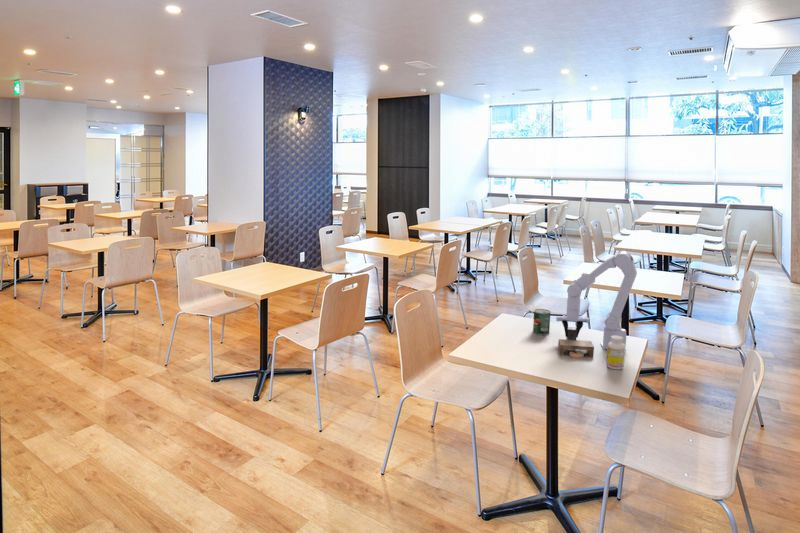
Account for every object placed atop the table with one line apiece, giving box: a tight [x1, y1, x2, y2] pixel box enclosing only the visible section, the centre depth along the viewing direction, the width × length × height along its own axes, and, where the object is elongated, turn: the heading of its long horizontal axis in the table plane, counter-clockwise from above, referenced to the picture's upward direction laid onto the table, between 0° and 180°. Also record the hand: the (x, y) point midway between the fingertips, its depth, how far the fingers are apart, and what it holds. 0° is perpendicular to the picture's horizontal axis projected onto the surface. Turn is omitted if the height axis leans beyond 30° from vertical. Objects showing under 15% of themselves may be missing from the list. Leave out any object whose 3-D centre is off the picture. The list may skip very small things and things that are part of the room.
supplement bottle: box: [606, 335, 626, 370], centre depth 224 cm, size 7×7×13 cm
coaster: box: [568, 350, 585, 359], centre depth 238 cm, size 6×6×2 cm
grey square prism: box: [565, 326, 582, 353], centre depth 250 cm, size 5×17×6 cm, turn 169°
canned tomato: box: [532, 308, 552, 336], centre depth 269 cm, size 8×8×11 cm
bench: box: [557, 338, 595, 358], centre depth 241 cm, size 14×8×5 cm, turn 79°
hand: (571, 336), depth 256 cm, fingers closed on grey square prism, 4 cm apart
